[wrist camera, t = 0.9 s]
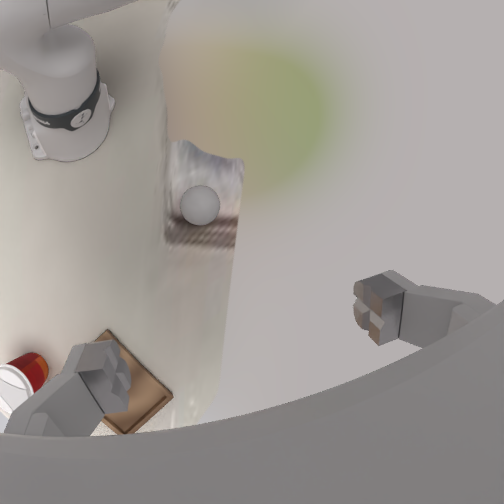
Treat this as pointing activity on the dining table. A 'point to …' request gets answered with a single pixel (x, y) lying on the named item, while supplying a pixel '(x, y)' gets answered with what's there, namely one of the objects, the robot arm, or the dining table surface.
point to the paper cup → (21, 380)
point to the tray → (136, 395)
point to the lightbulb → (200, 205)
